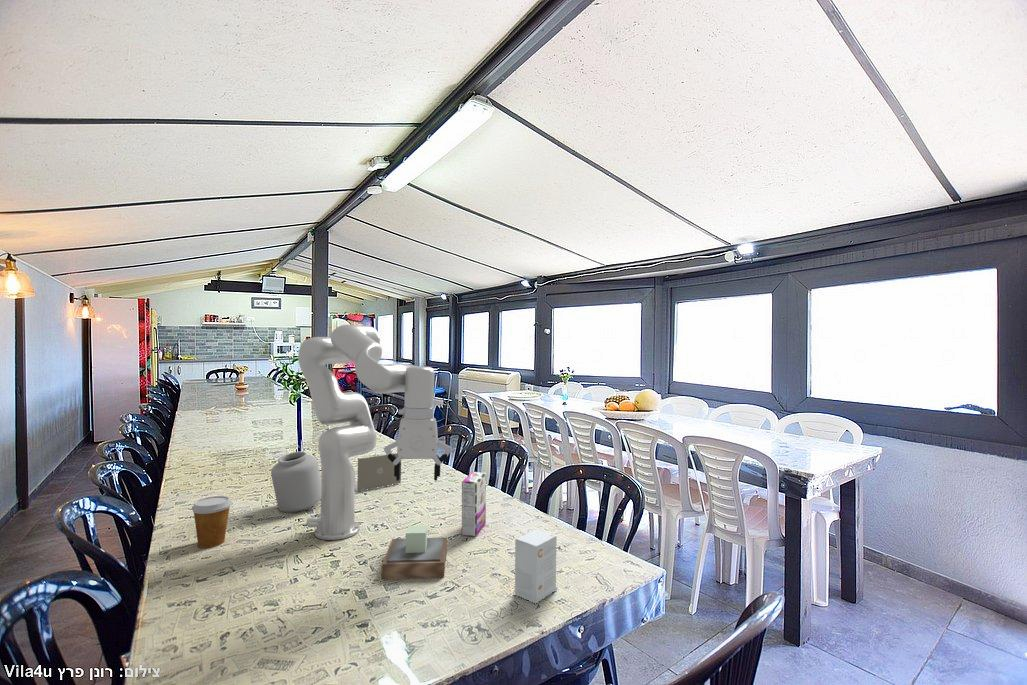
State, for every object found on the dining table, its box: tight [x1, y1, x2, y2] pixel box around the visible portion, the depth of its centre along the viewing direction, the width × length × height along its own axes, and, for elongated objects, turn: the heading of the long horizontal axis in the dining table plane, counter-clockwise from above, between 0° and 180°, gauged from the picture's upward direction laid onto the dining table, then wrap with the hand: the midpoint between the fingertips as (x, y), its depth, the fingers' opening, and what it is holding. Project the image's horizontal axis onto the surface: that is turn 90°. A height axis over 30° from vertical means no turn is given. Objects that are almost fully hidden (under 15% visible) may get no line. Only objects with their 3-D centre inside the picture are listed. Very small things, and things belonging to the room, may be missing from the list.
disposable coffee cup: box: [191, 495, 233, 549], centre depth 132 cm, size 10×10×12 cm
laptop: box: [355, 452, 402, 492], centre depth 190 cm, size 18×12×13 cm
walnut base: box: [381, 536, 448, 580], centre depth 122 cm, size 15×15×4 cm
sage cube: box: [405, 524, 428, 553], centre depth 122 cm, size 5×5×5 cm
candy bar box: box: [461, 471, 487, 538], centre depth 145 cm, size 11×5×16 cm, turn 168°
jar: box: [270, 436, 321, 519], centre depth 160 cm, size 19×15×25 cm
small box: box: [514, 528, 558, 605], centre depth 109 cm, size 8×6×13 cm
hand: (417, 479), depth 122 cm, fingers open, 9 cm apart
